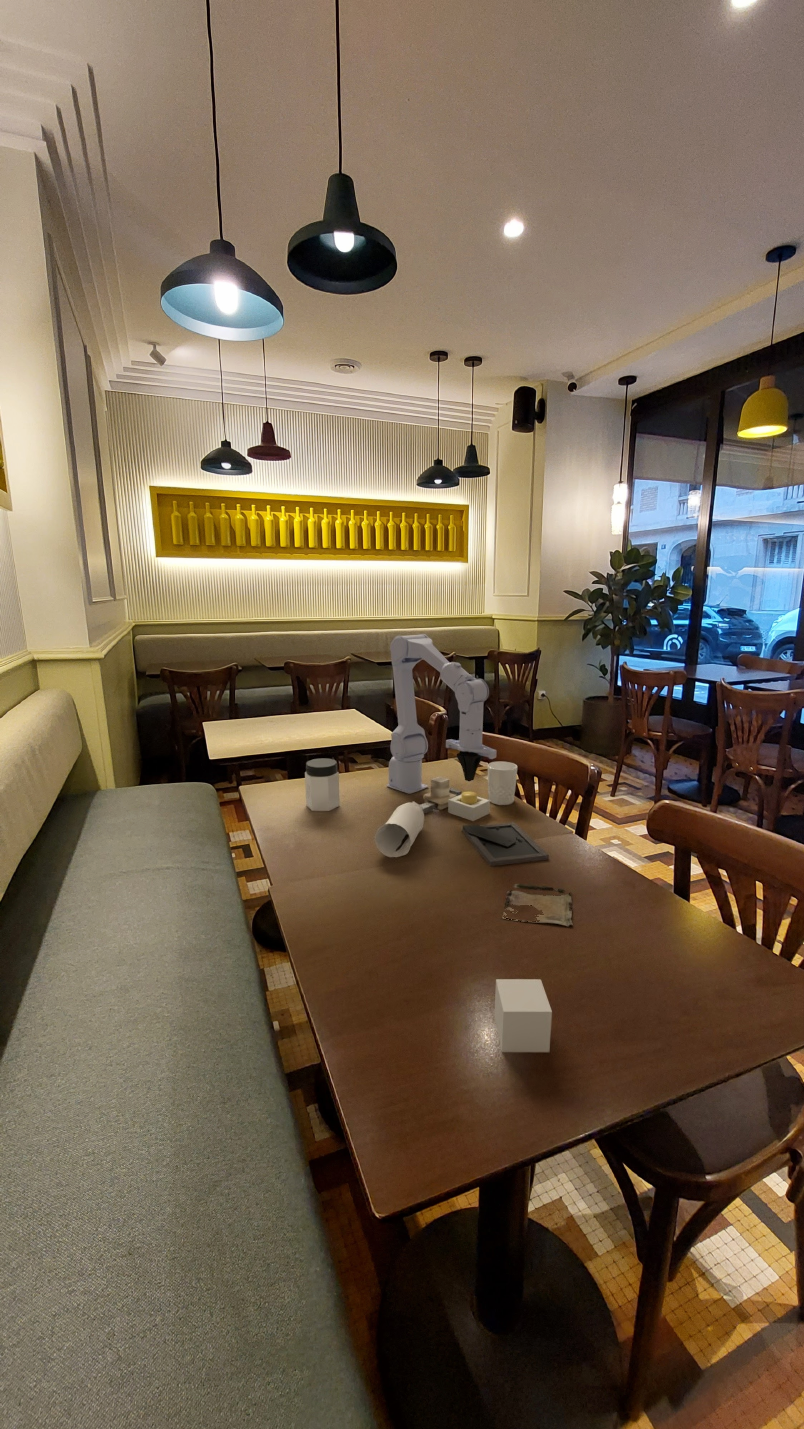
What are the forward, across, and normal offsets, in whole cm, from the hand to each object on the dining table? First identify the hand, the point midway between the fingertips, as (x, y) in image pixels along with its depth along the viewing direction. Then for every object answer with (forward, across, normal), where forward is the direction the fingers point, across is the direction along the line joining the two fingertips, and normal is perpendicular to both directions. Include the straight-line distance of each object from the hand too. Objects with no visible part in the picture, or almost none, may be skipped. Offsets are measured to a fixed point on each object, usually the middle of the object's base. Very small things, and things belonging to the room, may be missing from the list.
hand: (469, 780), depth 147 cm
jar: (+9, -31, -23) cm, 40 cm away
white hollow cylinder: (+9, -1, -24) cm, 26 cm away
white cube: (+9, +51, -55) cm, 76 cm away
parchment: (+9, +36, -26) cm, 45 cm away
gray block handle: (+9, -9, -4) cm, 13 cm away
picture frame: (+10, +17, -9) cm, 22 cm away
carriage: (+9, -9, -1) cm, 13 cm away
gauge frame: (+9, 0, 0) cm, 9 cm away
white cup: (+9, +1, +13) cm, 16 cm away
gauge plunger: (+8, 0, 0) cm, 8 cm away
